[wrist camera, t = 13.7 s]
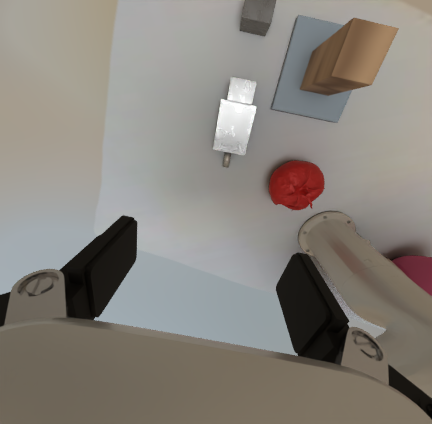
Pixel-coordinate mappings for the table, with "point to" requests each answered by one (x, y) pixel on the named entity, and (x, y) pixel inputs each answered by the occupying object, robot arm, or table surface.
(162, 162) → the table surface
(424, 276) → the pink dragon fruit
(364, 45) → the walnut peg
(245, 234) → the table surface
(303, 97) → the pad
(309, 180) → the pomegranate
